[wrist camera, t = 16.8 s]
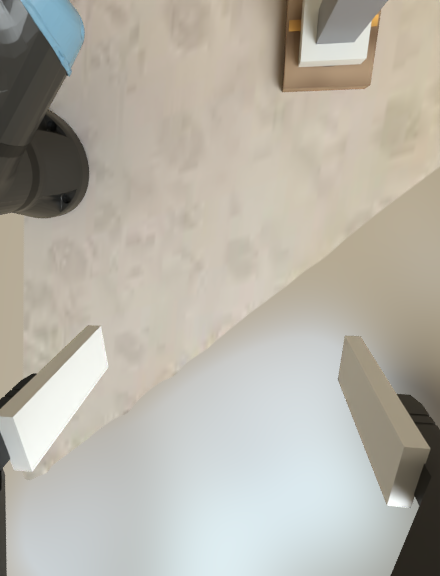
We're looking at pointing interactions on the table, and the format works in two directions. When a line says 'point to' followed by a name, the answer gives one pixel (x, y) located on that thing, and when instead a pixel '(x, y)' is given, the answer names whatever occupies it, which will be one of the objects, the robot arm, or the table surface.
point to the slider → (336, 31)
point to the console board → (322, 75)
